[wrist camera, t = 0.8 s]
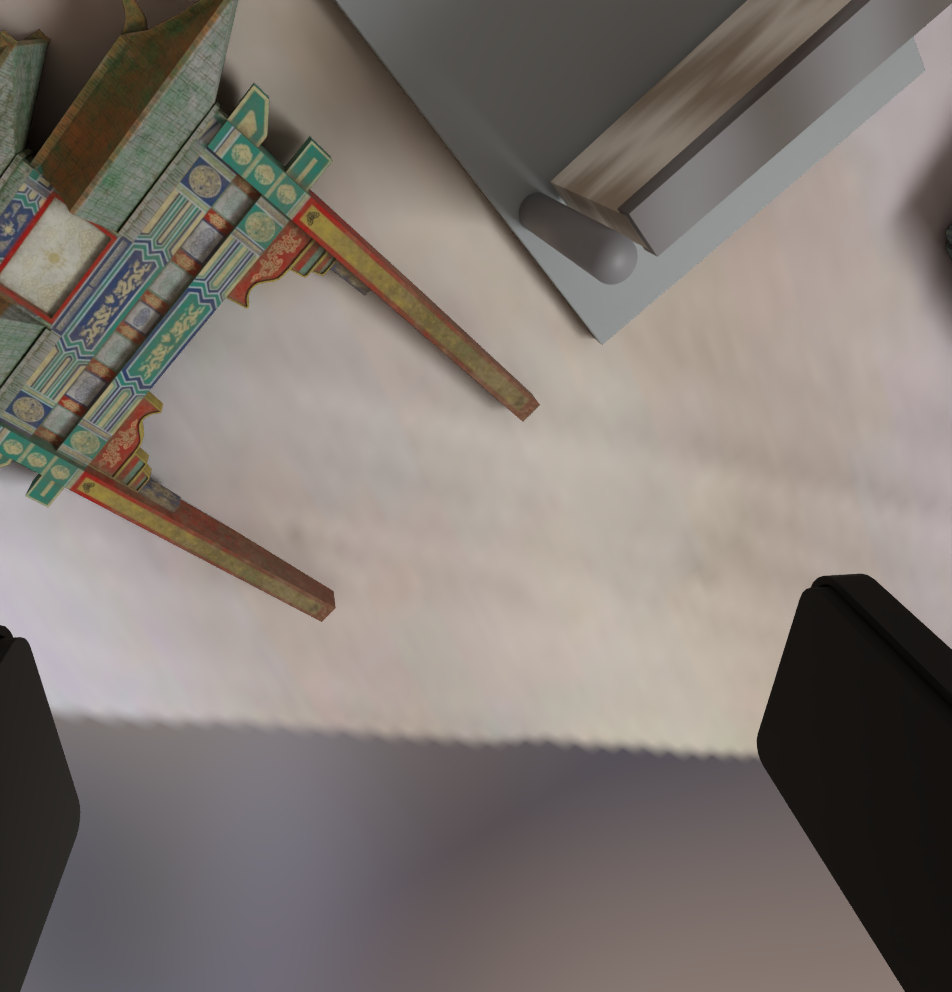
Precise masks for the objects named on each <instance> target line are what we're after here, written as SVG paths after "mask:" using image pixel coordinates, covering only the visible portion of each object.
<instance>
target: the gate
mask: <svg viewBox="0 0 952 992" xmlns="http://www.w3.org/2000/svg"><path fill="white" fill-rule="evenodd" d="M951 3H952V0H747V1H746V2H745V3H744V4H743V5H742V6H741V7H740V8H738V9H737V10H736V11H735V12H734V13H733V14H732V15H731V16H730V17H729V18H728V19H726V20H725V21H724V22H723V23H722V24H721V25H720V26H719V27H718V28H717V29H716V30H715V31H713V32H712V33H711V34H710V35H709V36H708V37H707V38H706V39H705V40H704V41H703V42H701V43H700V44H699V45H698V46H697V47H696V48H695V49H694V50H693V51H692V52H691V53H690V54H688V55H687V56H686V57H685V58H684V59H683V60H682V61H681V62H680V63H679V64H678V65H676V66H675V67H674V68H673V69H672V70H671V71H670V72H669V73H668V74H667V75H666V76H664V77H663V78H662V79H661V80H660V81H659V82H658V83H657V84H656V85H655V86H654V87H653V88H651V89H650V90H649V91H648V92H647V93H646V94H645V95H644V96H643V97H642V98H641V99H639V100H638V101H637V102H636V103H635V104H634V105H633V106H632V107H631V108H630V109H629V110H628V111H626V112H625V113H624V114H623V115H622V116H621V117H620V118H619V119H618V120H617V121H616V122H614V123H613V124H612V125H611V126H610V127H609V128H608V129H607V130H606V131H605V132H604V133H603V134H601V135H600V136H599V137H598V138H597V139H596V140H595V141H594V142H593V143H592V144H591V145H589V146H588V147H587V148H586V149H585V150H584V151H583V152H582V153H581V154H580V155H579V156H578V157H576V158H575V159H574V160H573V161H572V162H571V163H570V164H569V165H568V166H567V167H566V168H564V169H563V170H562V171H561V172H560V173H559V174H558V175H557V176H556V177H555V178H554V179H553V180H551V181H550V182H551V184H552V185H553V186H554V188H555V189H556V191H557V192H558V194H559V195H560V196H561V198H562V199H563V201H564V202H565V203H566V205H567V206H568V207H570V208H572V209H574V210H576V211H578V212H580V213H582V214H584V215H586V216H588V217H590V218H592V219H593V220H595V221H597V222H599V223H601V224H603V225H605V226H607V227H609V228H611V229H613V230H615V231H617V232H619V233H621V234H623V235H625V236H627V237H628V238H630V239H631V240H632V241H633V242H635V243H637V244H639V245H641V246H643V248H644V249H645V250H646V251H647V252H649V253H651V254H653V255H655V256H657V257H658V256H659V255H660V254H661V253H663V252H664V251H665V250H666V249H667V248H668V247H670V246H671V245H672V244H673V243H674V242H675V241H677V240H678V239H679V238H680V237H681V236H682V235H683V234H685V233H686V232H687V231H688V230H689V229H690V228H692V227H693V226H694V225H695V224H696V223H697V222H699V221H700V220H701V219H702V218H703V217H704V216H706V215H707V214H708V213H709V212H710V211H711V210H712V209H714V208H715V207H716V206H717V205H718V204H719V203H721V202H722V201H723V200H724V199H725V198H726V197H728V196H729V195H730V194H731V193H732V192H733V191H734V190H736V189H737V188H738V187H739V186H740V185H741V184H743V183H744V182H745V181H746V180H747V179H748V178H750V177H751V176H752V175H753V174H754V173H755V172H757V171H758V170H759V169H760V168H761V167H762V166H763V165H765V164H766V163H767V162H768V161H769V160H770V159H772V158H773V157H774V156H775V155H776V154H777V153H779V152H780V151H781V150H782V149H783V148H784V147H786V146H787V145H788V144H789V143H790V142H791V141H792V140H794V139H795V138H796V137H797V136H798V135H799V134H801V133H802V132H803V131H804V130H805V129H806V128H808V127H809V126H810V125H811V124H812V123H813V122H815V121H816V120H817V119H818V118H819V117H820V116H821V115H823V114H824V113H825V112H826V111H827V110H828V109H830V108H831V107H832V106H833V105H834V104H835V103H837V102H838V101H839V100H840V99H841V98H842V97H844V96H845V95H846V94H847V93H848V92H849V91H850V90H852V89H853V88H854V87H855V86H856V85H857V84H859V83H860V82H861V81H862V80H863V79H864V78H866V77H867V76H868V75H869V74H870V73H871V72H873V71H874V70H875V69H876V68H877V67H878V66H879V65H881V64H882V63H883V62H884V61H885V60H886V59H888V58H889V57H890V56H891V55H892V54H893V53H895V52H896V51H897V50H898V49H899V48H900V47H902V46H903V45H904V44H905V43H906V42H907V41H908V40H910V39H911V38H912V37H913V36H914V35H915V34H917V33H918V32H919V31H920V30H921V29H922V28H924V27H925V26H926V25H927V24H928V23H929V22H930V21H932V20H933V19H934V18H935V17H936V16H937V15H939V14H940V13H941V12H942V11H943V10H944V9H946V8H947V7H948V6H949V5H950V4H951Z"/></svg>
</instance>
